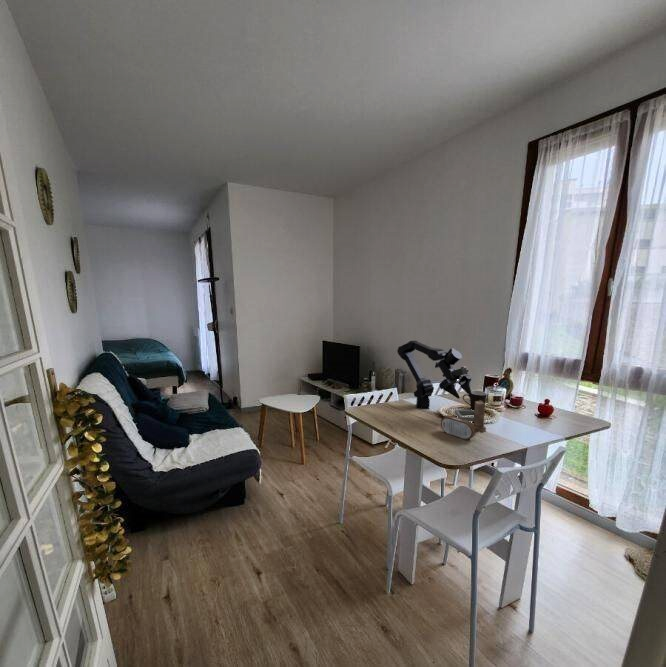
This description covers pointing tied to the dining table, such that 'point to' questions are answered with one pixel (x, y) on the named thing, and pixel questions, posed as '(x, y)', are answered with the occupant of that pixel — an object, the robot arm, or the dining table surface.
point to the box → (465, 412)
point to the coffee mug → (476, 398)
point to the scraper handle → (479, 417)
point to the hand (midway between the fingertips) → (465, 396)
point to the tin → (458, 427)
